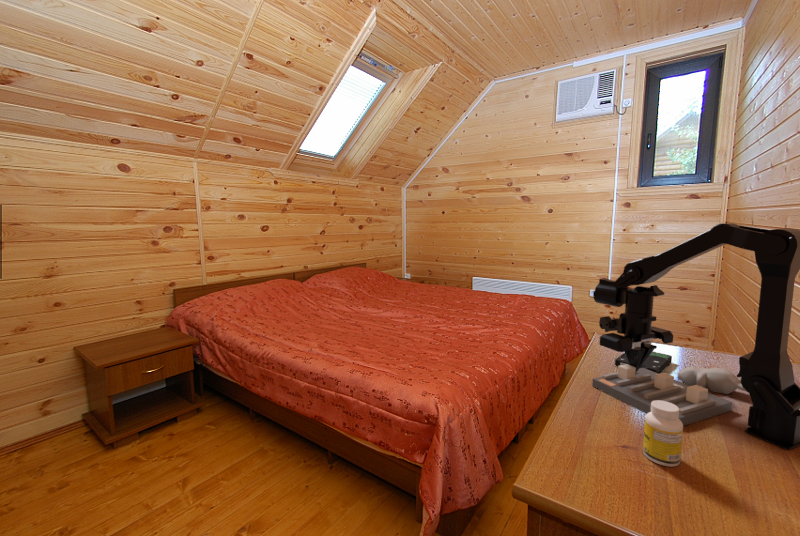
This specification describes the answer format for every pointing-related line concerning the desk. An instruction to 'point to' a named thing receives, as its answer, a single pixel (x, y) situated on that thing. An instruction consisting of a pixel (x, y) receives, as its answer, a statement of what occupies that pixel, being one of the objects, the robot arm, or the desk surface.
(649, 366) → the disk drive
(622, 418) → the desk surface
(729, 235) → the robot arm
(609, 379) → the switch panel
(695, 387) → the tab near
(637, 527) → the desk surface
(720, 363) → the desk surface
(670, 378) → the tab middle
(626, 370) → the tab far
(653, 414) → the supplement bottle
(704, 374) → the bunny figurine
